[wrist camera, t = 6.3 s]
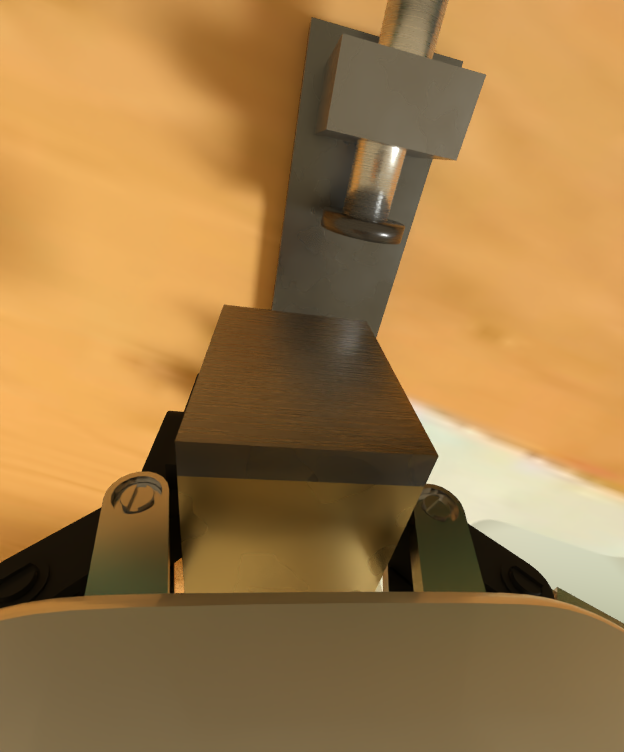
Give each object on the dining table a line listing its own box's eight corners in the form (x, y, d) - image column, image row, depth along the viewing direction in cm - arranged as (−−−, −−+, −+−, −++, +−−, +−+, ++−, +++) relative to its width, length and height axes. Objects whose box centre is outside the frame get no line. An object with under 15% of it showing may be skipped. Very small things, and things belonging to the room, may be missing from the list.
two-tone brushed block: (223, 304, 11) (174, 440, 6) (366, 321, 11) (438, 456, 6) (219, 468, 14) (187, 640, 9) (327, 473, 15) (353, 636, 10)
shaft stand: (340, 436, 33) (353, 495, 27) (255, 429, 32) (250, 489, 26) (462, 40, 18) (543, -7, 13) (313, -5, 17) (332, -80, 12)
